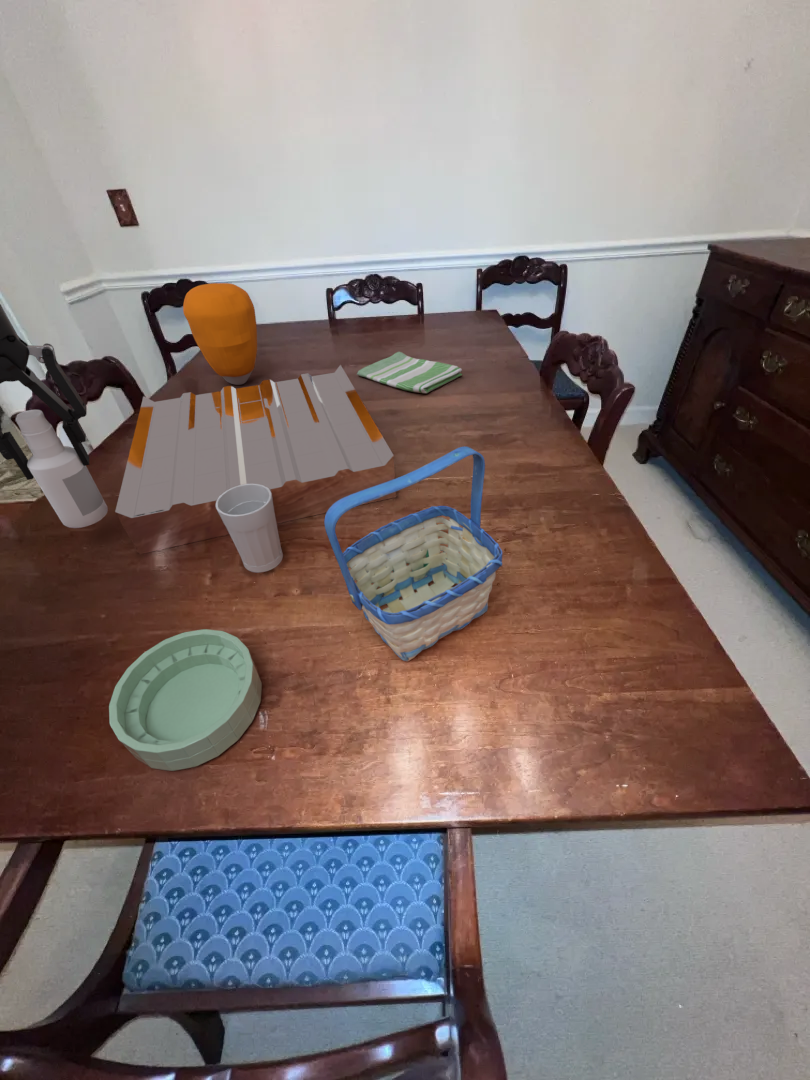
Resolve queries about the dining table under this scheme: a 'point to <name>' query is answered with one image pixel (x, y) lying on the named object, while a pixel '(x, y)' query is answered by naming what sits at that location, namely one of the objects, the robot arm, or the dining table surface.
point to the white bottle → (60, 473)
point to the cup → (252, 525)
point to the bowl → (186, 699)
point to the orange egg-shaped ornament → (224, 328)
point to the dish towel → (410, 373)
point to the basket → (419, 563)
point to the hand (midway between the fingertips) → (59, 467)
